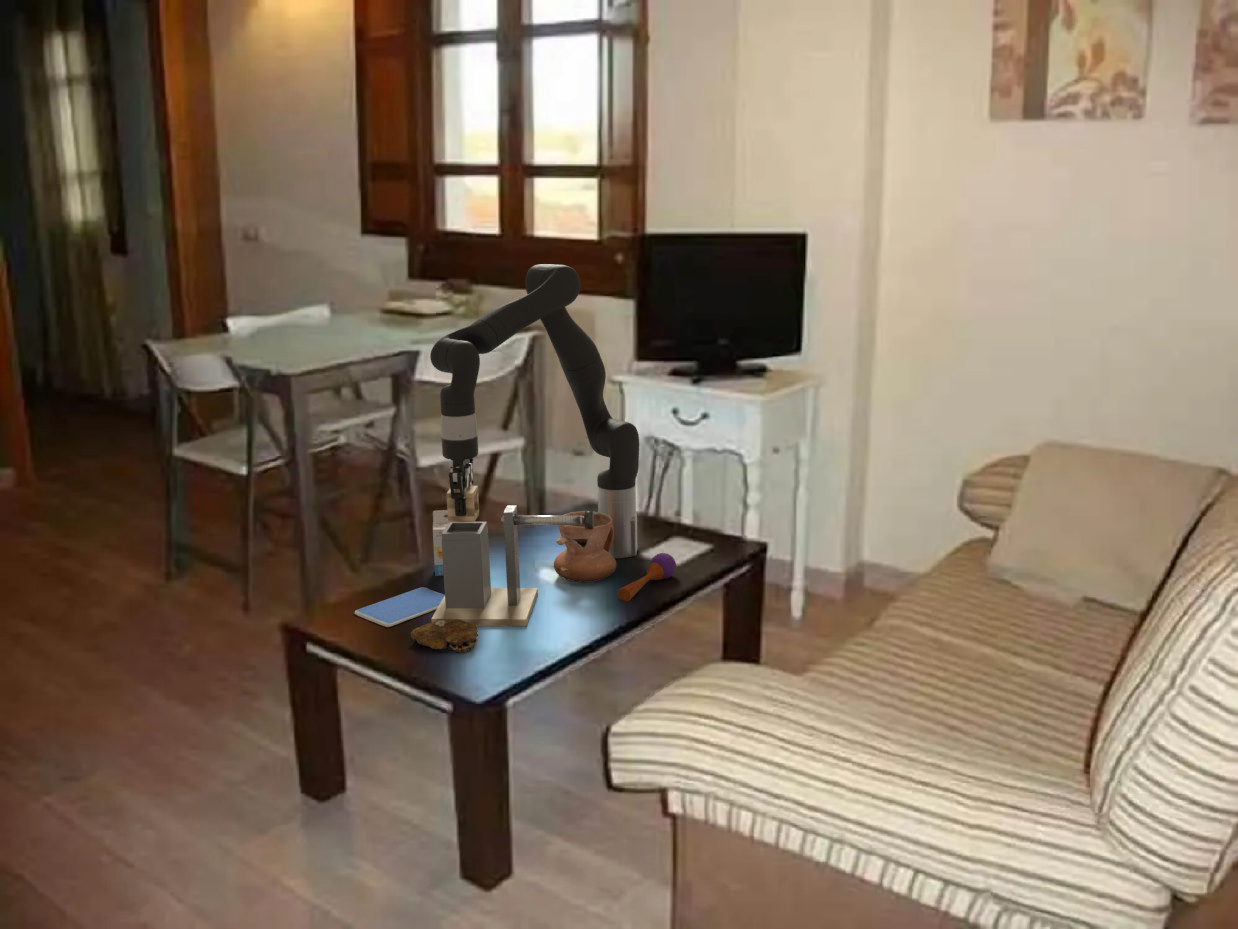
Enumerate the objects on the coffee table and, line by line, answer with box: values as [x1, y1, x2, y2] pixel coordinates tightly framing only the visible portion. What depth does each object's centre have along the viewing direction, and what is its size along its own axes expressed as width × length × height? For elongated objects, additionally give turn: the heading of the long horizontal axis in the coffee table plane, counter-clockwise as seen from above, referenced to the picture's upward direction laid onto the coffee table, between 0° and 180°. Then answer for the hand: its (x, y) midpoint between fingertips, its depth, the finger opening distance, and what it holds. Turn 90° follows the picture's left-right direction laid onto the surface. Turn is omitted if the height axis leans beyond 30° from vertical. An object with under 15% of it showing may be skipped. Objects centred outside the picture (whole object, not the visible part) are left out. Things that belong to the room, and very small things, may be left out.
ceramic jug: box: [553, 510, 617, 583], centre depth 275 cm, size 18×14×14 cm
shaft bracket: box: [503, 504, 521, 606], centre depth 255 cm, size 2×5×21 cm, turn 176°
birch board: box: [431, 587, 539, 627], centre depth 258 cm, size 20×18×2 cm
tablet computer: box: [354, 586, 445, 628], centre depth 260 cm, size 19×13×1 cm, turn 138°
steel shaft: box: [500, 510, 594, 530], centre depth 252 cm, size 20×4×4 cm, turn 86°
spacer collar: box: [445, 485, 480, 522], centre depth 253 cm, size 6×6×6 cm
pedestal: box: [442, 521, 492, 609], centre depth 256 cm, size 8×8×17 cm
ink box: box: [432, 509, 449, 577], centre depth 279 cm, size 8×5×15 cm, turn 98°
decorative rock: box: [410, 619, 479, 654], centre depth 241 cm, size 11×4×15 cm
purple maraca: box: [617, 552, 677, 603], centre depth 268 cm, size 6×6×20 cm
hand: (463, 511), depth 253 cm, fingers closed on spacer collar, 5 cm apart
